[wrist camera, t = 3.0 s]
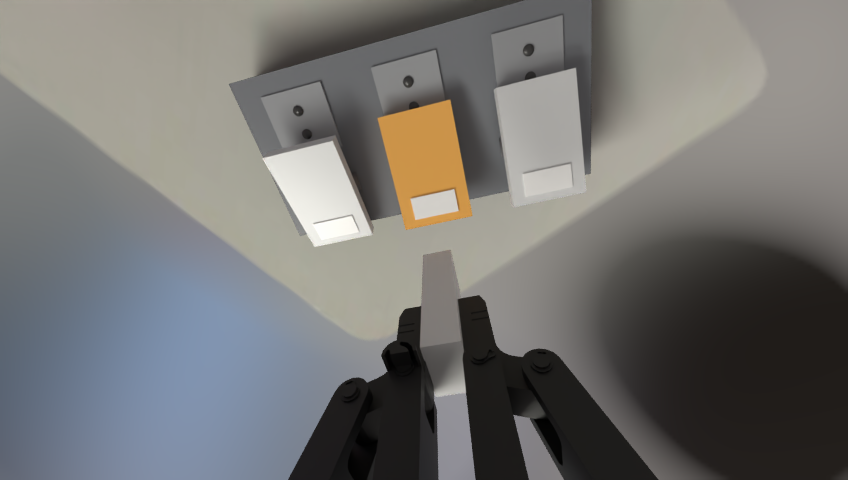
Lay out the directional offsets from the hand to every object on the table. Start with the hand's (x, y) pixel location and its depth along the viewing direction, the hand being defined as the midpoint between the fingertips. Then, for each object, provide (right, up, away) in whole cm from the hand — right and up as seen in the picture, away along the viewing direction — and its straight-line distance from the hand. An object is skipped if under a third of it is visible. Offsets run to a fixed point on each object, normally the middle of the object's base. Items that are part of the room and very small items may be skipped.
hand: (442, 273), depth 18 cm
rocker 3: (+7, +9, +5) cm, 12 cm away
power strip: (-1, +11, +9) cm, 14 cm away
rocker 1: (-8, +6, +7) cm, 12 cm away
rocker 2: (-1, +7, +6) cm, 10 cm away
